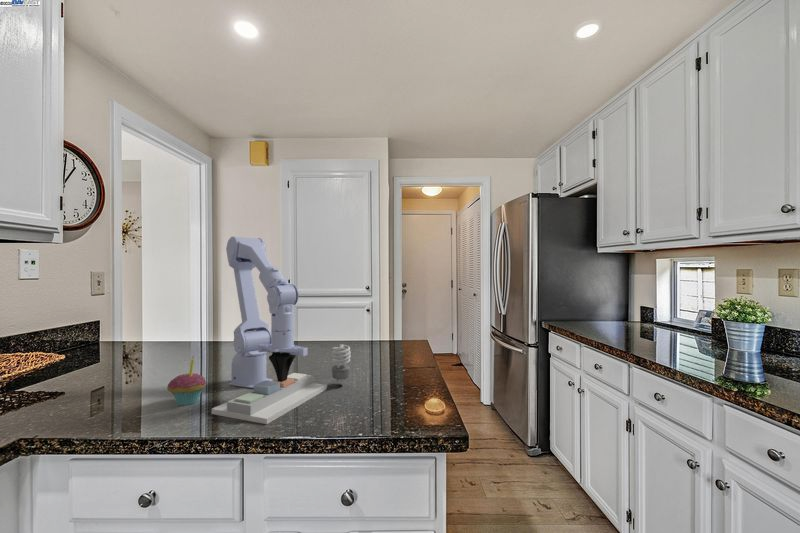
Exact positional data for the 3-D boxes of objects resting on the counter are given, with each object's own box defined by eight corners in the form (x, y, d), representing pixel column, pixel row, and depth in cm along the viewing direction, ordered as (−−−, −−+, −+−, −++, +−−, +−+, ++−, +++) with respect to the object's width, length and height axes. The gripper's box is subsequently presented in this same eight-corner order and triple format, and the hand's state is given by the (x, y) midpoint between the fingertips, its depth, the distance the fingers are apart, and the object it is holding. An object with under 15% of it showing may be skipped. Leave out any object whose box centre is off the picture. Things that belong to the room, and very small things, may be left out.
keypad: (211, 413, 86) (211, 399, 86) (280, 382, 110) (280, 371, 110) (266, 424, 81) (266, 408, 81) (327, 389, 104) (327, 377, 104)
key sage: (235, 408, 85) (235, 398, 85) (248, 401, 89) (248, 392, 89) (250, 410, 84) (250, 401, 84) (263, 404, 88) (263, 394, 88)
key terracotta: (269, 390, 97) (270, 381, 97) (280, 385, 101) (280, 377, 101) (283, 392, 95) (283, 383, 95) (294, 387, 99) (294, 379, 99)
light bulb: (346, 388, 104) (347, 346, 104) (328, 387, 105) (328, 345, 105) (353, 382, 110) (353, 342, 110) (335, 381, 111) (335, 341, 111)
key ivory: (284, 384, 102) (284, 377, 102) (294, 380, 106) (294, 372, 106) (297, 386, 101) (297, 378, 101) (307, 382, 105) (307, 374, 105)
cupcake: (213, 398, 96) (213, 353, 96) (185, 410, 88) (185, 360, 88) (188, 394, 99) (189, 350, 99) (159, 405, 91) (159, 357, 91)
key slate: (253, 394, 91) (253, 385, 91) (265, 388, 95) (265, 380, 95) (268, 396, 89) (268, 387, 89) (279, 390, 94) (279, 382, 94)
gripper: (250, 330, 97) (249, 382, 97) (296, 334, 92) (296, 388, 92) (268, 326, 103) (268, 374, 103) (312, 329, 98) (312, 380, 98)
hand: (282, 380), depth 98 cm, fingers closed, pressing on key terracotta
